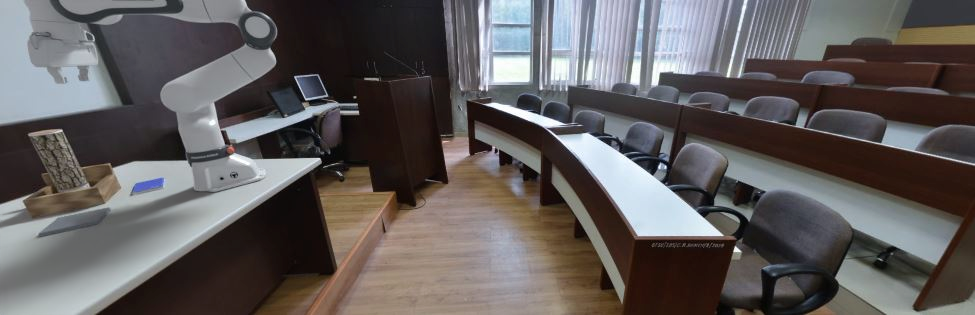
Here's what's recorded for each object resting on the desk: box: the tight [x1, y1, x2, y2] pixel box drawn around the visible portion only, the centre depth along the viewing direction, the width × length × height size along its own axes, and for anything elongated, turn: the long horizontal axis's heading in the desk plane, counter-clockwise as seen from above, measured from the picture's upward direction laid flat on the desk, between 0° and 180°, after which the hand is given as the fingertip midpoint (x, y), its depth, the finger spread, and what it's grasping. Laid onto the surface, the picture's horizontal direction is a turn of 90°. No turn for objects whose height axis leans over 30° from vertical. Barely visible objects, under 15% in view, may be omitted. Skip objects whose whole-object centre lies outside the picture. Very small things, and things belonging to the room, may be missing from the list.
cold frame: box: [22, 162, 122, 219], centre depth 110 cm, size 16×16×10 cm
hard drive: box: [131, 177, 166, 196], centre depth 122 cm, size 2×8×12 cm
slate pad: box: [38, 206, 111, 237], centre depth 98 cm, size 11×11×1 cm
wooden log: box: [28, 128, 90, 193], centre depth 108 cm, size 7×7×25 cm
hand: (73, 82), depth 97 cm, fingers open, 8 cm apart
